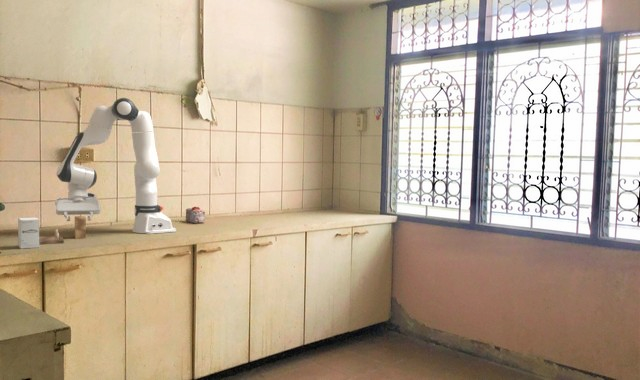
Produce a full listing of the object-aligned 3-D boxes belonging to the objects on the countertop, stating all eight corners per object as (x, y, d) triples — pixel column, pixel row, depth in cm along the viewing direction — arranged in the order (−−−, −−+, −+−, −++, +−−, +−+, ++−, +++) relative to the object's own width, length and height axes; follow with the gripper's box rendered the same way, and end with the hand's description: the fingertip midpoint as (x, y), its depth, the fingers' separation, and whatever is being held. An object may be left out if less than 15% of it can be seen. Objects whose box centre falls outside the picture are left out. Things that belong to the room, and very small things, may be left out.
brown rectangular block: (84, 236, 263) (84, 216, 263) (85, 238, 257) (85, 217, 256) (74, 236, 261) (74, 216, 260) (75, 238, 255) (75, 218, 254)
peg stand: (62, 238, 255) (62, 228, 255) (63, 243, 243) (63, 233, 243) (29, 239, 249) (28, 229, 248) (28, 244, 236) (28, 234, 236)
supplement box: (20, 249, 227) (19, 219, 226) (18, 246, 233) (17, 217, 232) (39, 247, 231) (39, 219, 230) (36, 244, 237) (36, 217, 236)
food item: (206, 223, 319) (207, 207, 318) (195, 224, 313) (195, 208, 312) (194, 221, 328) (195, 205, 327) (183, 221, 323) (183, 205, 322)
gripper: (55, 194, 262) (55, 216, 254) (99, 194, 271) (101, 215, 263) (54, 202, 266) (55, 224, 258) (98, 202, 276) (100, 223, 268)
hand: (79, 220), depth 261 cm, fingers open, 8 cm apart
